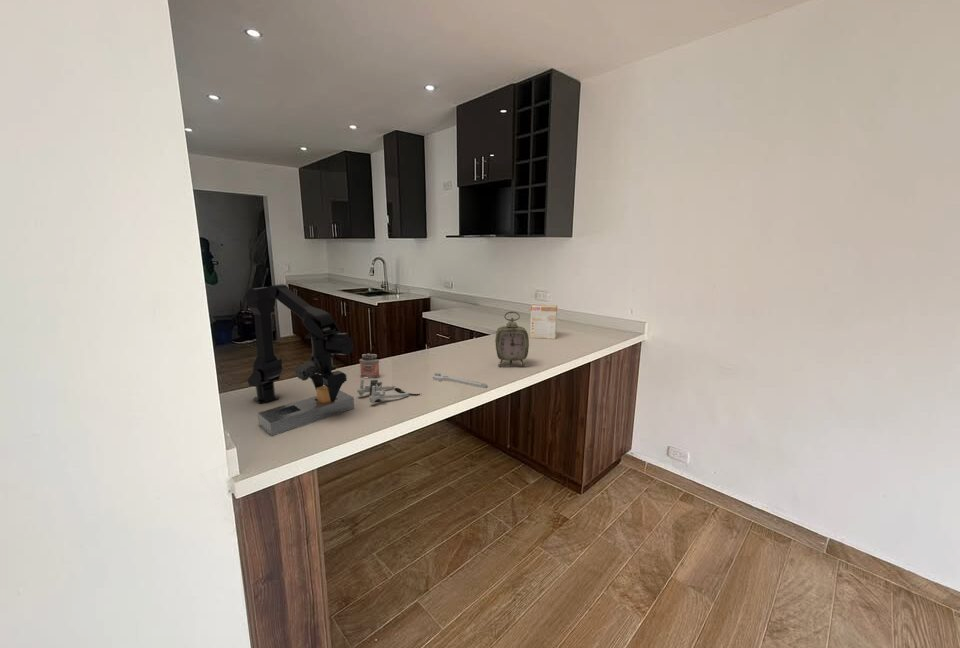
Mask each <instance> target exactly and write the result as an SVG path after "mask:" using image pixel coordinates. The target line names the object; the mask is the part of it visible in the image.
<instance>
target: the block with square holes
mask: <svg viewBox="0 0 960 648" xmlns="http://www.w3.org/2000/svg"><path fill="white" fill-rule="evenodd" d="M353 408H354V409H355V400H354V396H352V395H349V394H348V393H346V392H344V391H342V390H341V389H340V390H339V392H338V394H337V396H336V399H335V401H333V402H331V401H330V402H327V403H323V404H321V403H320V402H318V401H317V395H315V396H312V397H308V398H305V399H301V400H298V401H295V402H290V403H287V404H284V405H280V406H277V407H273V408H270V409H266V410H262V411H259V412H257V420H258V426H259V427H261V428H262V429H263V430H264V431H265V432H267V433H268V434H269V435H270V436H272V435H273V436H276V435H278V434H277V433H279V434H281V432H282V433H284V431H285V432H287V430H288V431H290V429H291V430H293V429H296V428H300V427H302V426H306V425H308V423H309V424H311V422H312V423H314V421H315V422H318V421H320V419H321V420H324V419H327V418H329V417H332V416H336V415H338V413H339V414H341V412H342V413H344V411H345V412H348V411H350V410H349V409H351V410H354V409H353ZM347 410H348V411H347ZM317 420H318V421H317ZM275 434H276V435H275Z"/></svg>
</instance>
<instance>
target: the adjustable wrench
mask: <svg viewBox="0 0 960 648" xmlns="http://www.w3.org/2000/svg"><path fill="white" fill-rule="evenodd" d="M432 380H434V381H437V380H439V381H438V382H442V381H443V380H444V381H445V382H452V383H457V382H458V383H457V384H463V385H466V386H472V387H476V388H482V389H486V388H488V383H485V382H481V381H475V380H470V379H466V378H460V377H455V376H451V375H449V374H447V373H446V372H445V373H444V372H435V373H434V375H432ZM444 381H443V382H444Z"/></svg>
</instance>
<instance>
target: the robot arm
mask: <svg viewBox="0 0 960 648" xmlns="http://www.w3.org/2000/svg"><path fill="white" fill-rule="evenodd" d="M245 300H246V305H247V308H248V309H249V310H250V311H251V313H252V314H253V317H254V318H253V319H254V327H255V328H254V329H255V337H256V338H255V340H256V351H257V357H256V358H255V361H254V362H253V368H252V373H251V374H250V376H249V377H248V378H247V383H248V386H250V387H255V392H256V396H255V397H253V400H254V401H255V402H257V403H258V404H266V403H269V402H272V401H275V400H278V399H280V396H278V395H277V394H276V387H275V381H279V380H280V379H281V374H282V370H284V368H283V364H282V363H283V362H282V361H283V360H282V359H281V358H278V357H277V355H276V354H275V347H274V335H273V325H272V324H273V323H272V312H273V310H274V308H275V307H276V300H277V301H278V302H280V303H281V304H282V305H284V307H286V308H288V310H290V311H291V312H293V313H294V314H295V315H297V316H298V317H299V318H300V319H301V323H302V325H303V326H305V328H306V329H307V330H308V331H309V332H308V333H307V334H306V335H305V338H306V339H311V350H312V354H311V355H310V356H309V360H308V361H307V362H304V363H302V364H300V365H298V366H297V367H295V368H294V369H293V370H294V373H295V374H296V376H297V377H298V379H299V380H301V381H307V380H308V379H311V383H312V384H313V386H314V389H315V391H316V392H317V389H316V388H318V387H322V386H326V387H327V388H328V392H329V396H330V400H331V402H333V401H335V399H336V396H337V394H338V392H339V390H340V391H341V387H342V386H343V384H345V382H347V380H348V378H347V377H348V376H347V374H346V373H345V372H343V371H341V370H336V369H337V368H336V366H335V365H334V363H333V359H334V358H336V357H335V355H340V356H341V355H342V356H349V355H350V354H351V353H352V352H353V350H354V345H355V344H354V341H353V340H352V338H351V337H349V333H348V332H343V333H342V332H341V329H340V328H339V326H338V325H337V323H336V321H335V320H334V319H333V316H332V315H331V314H330V313H329V312H328V311H325V310H323V309H322V308H318V307H314V306H312V305H311V304H309V303H308V302H307V301H305V300H304V299H302V298H301V297H300V296H299V295H297V294H296V292H294V291H292V290H291V289H289V287H288V285H286V284H284V283H282V284H281V283H280V284H272V285H271V286H264V287H254V288H249V289H248V290H247V291H246V292H245Z"/></svg>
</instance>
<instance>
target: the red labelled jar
mask: <svg viewBox="0 0 960 648" xmlns="http://www.w3.org/2000/svg"><path fill="white" fill-rule="evenodd" d="M377 357H378V355H377V353H376V354H375V353H366V354H365V353H363V354H361V358H360V359H359V364H360V365H359V368H360V378H361V377H368V378H367V379H379V378H380V377H381V376H380V365H379V362H380V360H379V359H377ZM378 377H379V378H378Z"/></svg>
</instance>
